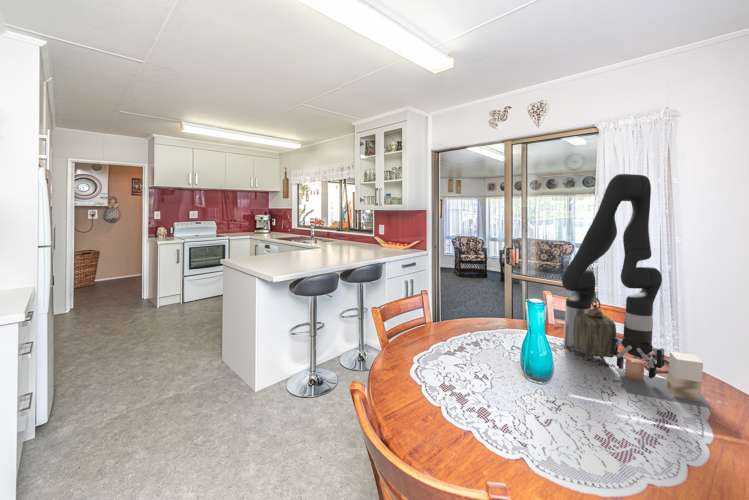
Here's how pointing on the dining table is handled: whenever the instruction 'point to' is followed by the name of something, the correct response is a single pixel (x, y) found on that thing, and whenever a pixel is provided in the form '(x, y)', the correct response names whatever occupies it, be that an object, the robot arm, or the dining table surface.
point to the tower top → (685, 366)
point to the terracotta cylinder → (634, 369)
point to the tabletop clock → (594, 333)
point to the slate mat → (657, 390)
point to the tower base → (684, 388)
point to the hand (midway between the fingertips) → (635, 372)
